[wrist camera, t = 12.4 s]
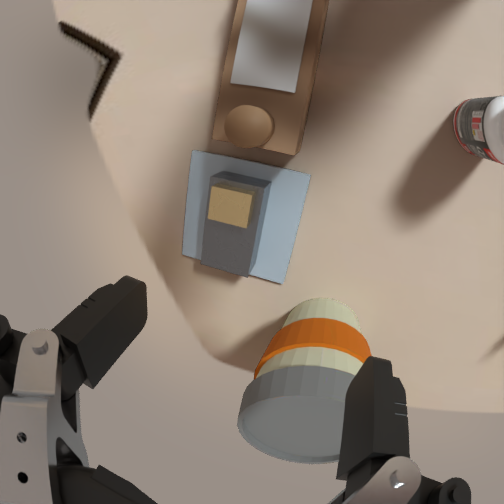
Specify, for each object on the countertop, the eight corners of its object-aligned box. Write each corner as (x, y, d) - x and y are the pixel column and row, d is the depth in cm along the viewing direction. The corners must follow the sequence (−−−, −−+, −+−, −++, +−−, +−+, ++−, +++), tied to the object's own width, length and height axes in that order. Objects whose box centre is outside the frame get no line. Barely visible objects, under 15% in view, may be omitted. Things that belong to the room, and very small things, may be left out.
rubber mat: (194, 150, 29) (192, 150, 28) (310, 174, 27) (310, 175, 26) (184, 252, 34) (182, 254, 34) (283, 281, 32) (282, 284, 32)
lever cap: (222, 170, 28) (204, 178, 24) (271, 181, 27) (261, 191, 24) (212, 250, 32) (195, 269, 28) (255, 263, 32) (244, 283, 28)
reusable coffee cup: (262, 350, 38) (226, 445, 24) (283, 270, 32) (245, 373, 19) (351, 373, 36) (344, 471, 22) (390, 299, 30) (410, 409, 17)
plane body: (263, -35, 18) (240, -75, 11) (333, -28, 17) (331, -70, 10) (229, 136, 27) (193, 142, 20) (299, 150, 26) (287, 160, 19)
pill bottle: (454, 155, 22) (505, 173, 13) (447, 97, 20) (498, 89, 11) (498, 156, 20) (555, 176, 11) (493, 101, 18) (550, 100, 9)
